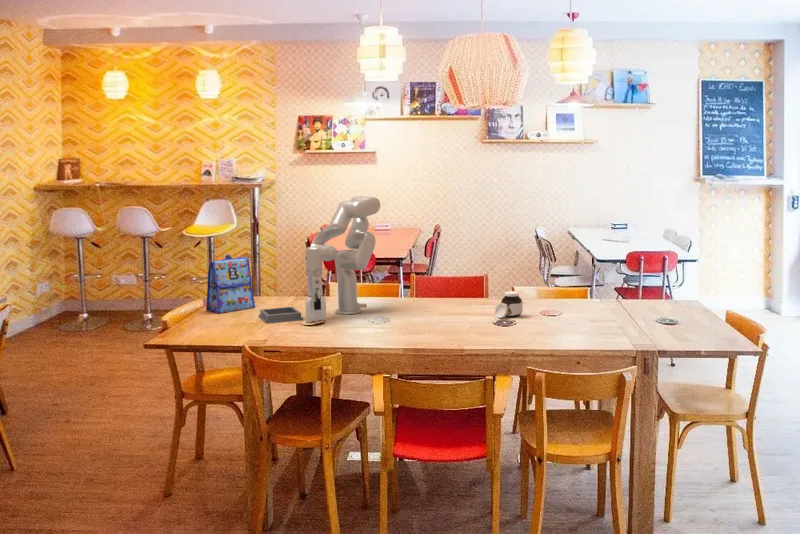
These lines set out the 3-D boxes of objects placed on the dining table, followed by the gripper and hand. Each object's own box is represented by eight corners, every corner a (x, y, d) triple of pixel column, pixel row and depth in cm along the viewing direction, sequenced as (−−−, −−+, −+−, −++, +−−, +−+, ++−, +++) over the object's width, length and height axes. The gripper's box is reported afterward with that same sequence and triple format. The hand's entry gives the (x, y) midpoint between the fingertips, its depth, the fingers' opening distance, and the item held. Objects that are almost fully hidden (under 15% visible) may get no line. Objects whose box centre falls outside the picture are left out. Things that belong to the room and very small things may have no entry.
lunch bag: (218, 314, 433) (215, 257, 428) (205, 310, 443) (202, 255, 438) (255, 308, 447) (253, 253, 442) (242, 304, 457) (239, 250, 452)
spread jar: (524, 315, 415) (524, 291, 413) (517, 320, 404) (517, 295, 403) (500, 313, 420) (500, 290, 418) (493, 318, 409) (492, 294, 408)
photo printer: (323, 318, 417) (322, 293, 415) (327, 320, 413) (326, 295, 411) (304, 321, 411) (303, 296, 409) (308, 323, 408) (307, 297, 406)
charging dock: (293, 313, 432) (293, 306, 431) (303, 319, 415) (303, 312, 414) (258, 316, 425) (258, 309, 424) (266, 323, 408) (266, 316, 408)
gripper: (327, 274, 402) (327, 310, 404) (316, 270, 418) (317, 304, 420) (311, 275, 399) (312, 311, 401) (301, 270, 415) (302, 305, 417)
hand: (314, 308), depth 411 cm, fingers open, 9 cm apart
